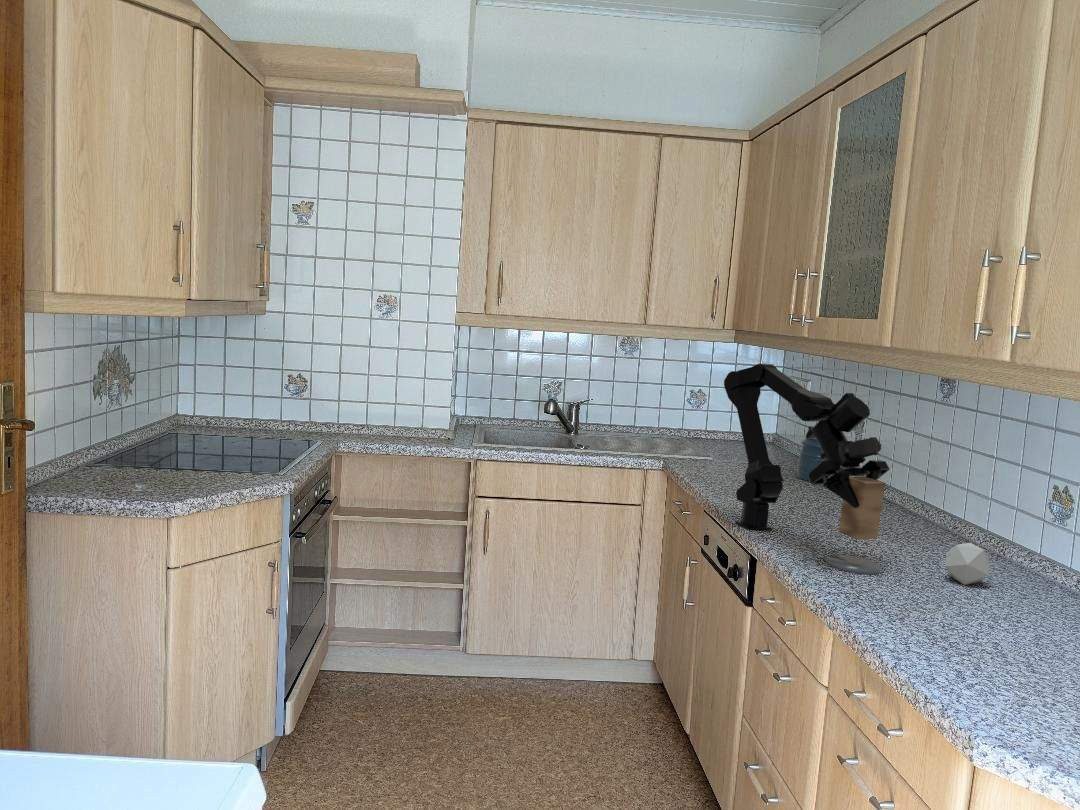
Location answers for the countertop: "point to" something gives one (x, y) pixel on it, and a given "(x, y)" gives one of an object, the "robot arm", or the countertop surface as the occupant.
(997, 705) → the countertop surface
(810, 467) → the canister
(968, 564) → the die
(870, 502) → the walnut block
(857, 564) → the slate coaster
